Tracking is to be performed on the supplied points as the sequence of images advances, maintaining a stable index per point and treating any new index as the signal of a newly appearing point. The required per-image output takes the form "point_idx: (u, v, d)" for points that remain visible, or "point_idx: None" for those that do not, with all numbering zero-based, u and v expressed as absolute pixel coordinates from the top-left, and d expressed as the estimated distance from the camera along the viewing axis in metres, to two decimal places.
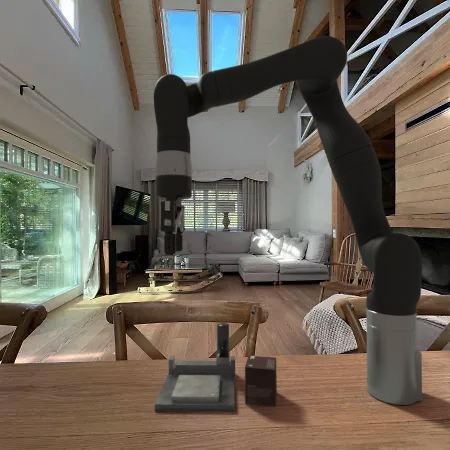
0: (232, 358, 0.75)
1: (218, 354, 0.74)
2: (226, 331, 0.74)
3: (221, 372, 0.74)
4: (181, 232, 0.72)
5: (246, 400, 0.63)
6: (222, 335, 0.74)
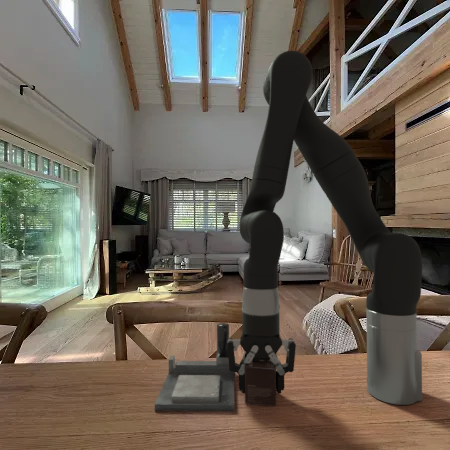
0: None
1: (218, 354, 0.74)
2: (226, 331, 0.74)
3: (221, 372, 0.74)
4: None
5: (246, 400, 0.63)
6: (222, 335, 0.74)
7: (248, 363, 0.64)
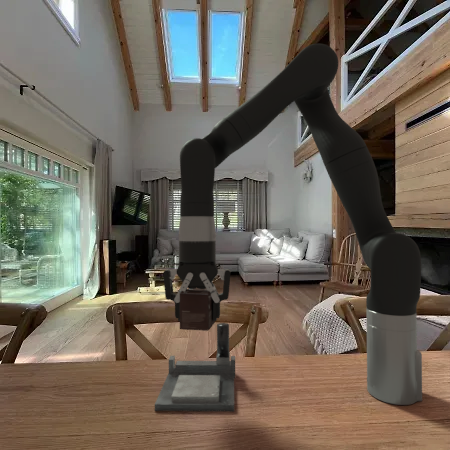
0: (232, 358, 0.75)
1: (218, 354, 0.74)
2: (226, 331, 0.74)
3: (221, 372, 0.74)
4: None
5: (180, 325, 0.64)
6: (222, 335, 0.74)
7: (183, 290, 0.65)
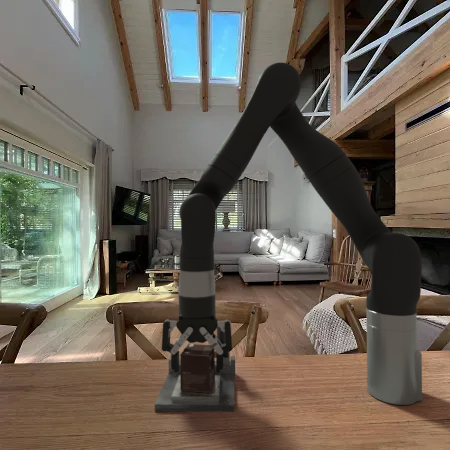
0: (232, 358, 0.75)
1: None
2: None
3: (221, 372, 0.74)
4: None
5: (181, 387, 0.64)
6: (222, 335, 0.74)
7: (181, 344, 0.65)
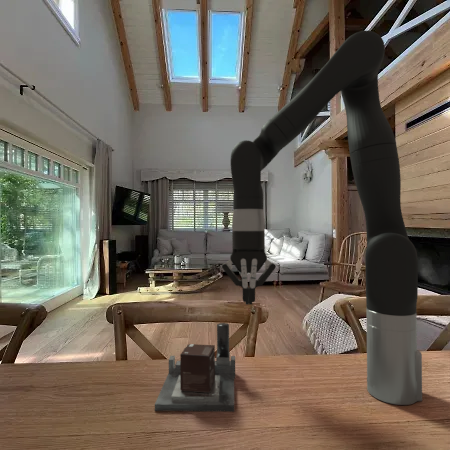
0: (232, 358, 0.75)
1: (218, 354, 0.74)
2: (226, 331, 0.74)
3: (221, 372, 0.74)
4: None
5: (181, 387, 0.64)
6: (222, 335, 0.74)
7: (245, 275, 0.73)
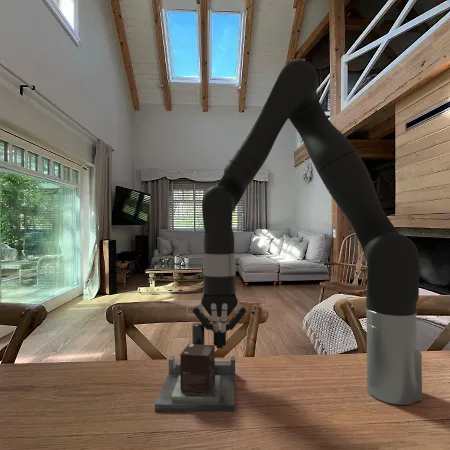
0: (232, 358, 0.75)
1: None
2: (201, 331, 0.74)
3: (221, 372, 0.74)
4: None
5: (181, 387, 0.64)
6: (197, 334, 0.74)
7: (216, 320, 0.74)
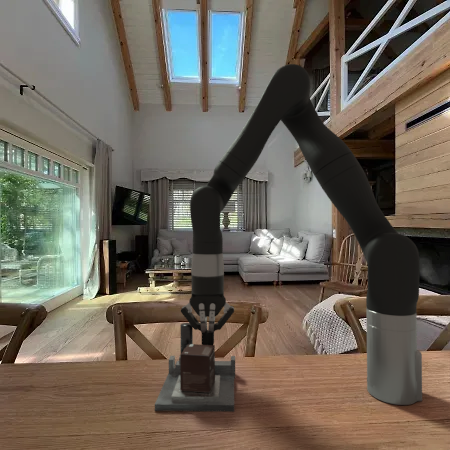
0: (232, 358, 0.75)
1: None
2: (189, 331, 0.74)
3: (221, 372, 0.74)
4: None
5: (181, 387, 0.64)
6: (185, 334, 0.74)
7: (204, 320, 0.74)
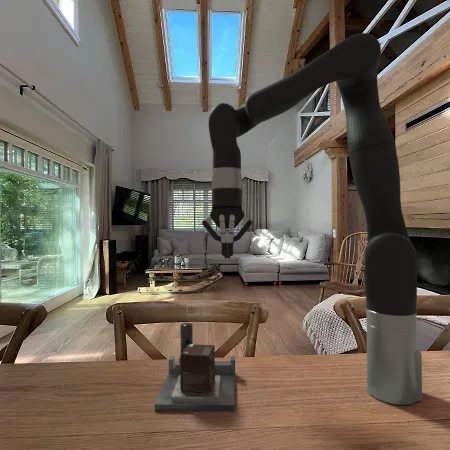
0: (232, 358, 0.75)
1: None
2: (189, 331, 0.74)
3: (221, 372, 0.74)
4: None
5: (181, 387, 0.64)
6: (185, 334, 0.74)
7: (224, 230, 0.78)
